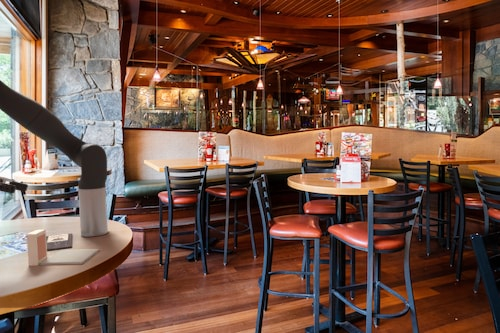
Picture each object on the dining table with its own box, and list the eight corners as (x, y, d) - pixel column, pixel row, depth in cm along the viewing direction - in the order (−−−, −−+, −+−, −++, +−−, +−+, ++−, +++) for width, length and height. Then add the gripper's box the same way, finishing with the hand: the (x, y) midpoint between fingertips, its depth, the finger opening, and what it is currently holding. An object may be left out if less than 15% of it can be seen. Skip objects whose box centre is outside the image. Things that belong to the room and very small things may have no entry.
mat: (61, 251, 115) (61, 249, 115) (99, 250, 115) (99, 249, 115) (39, 264, 103) (39, 262, 103) (82, 264, 103) (81, 262, 103)
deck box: (39, 259, 107) (37, 229, 107) (47, 259, 107) (45, 229, 107) (28, 265, 102) (26, 234, 102) (37, 265, 102) (35, 234, 102)
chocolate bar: (40, 250, 115) (44, 236, 131) (40, 253, 115) (44, 239, 131) (71, 246, 119) (72, 233, 135) (72, 249, 119) (72, 235, 135)
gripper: (-54, 160, 93) (14, 176, 97) (-25, 161, 107) (34, 175, 111) (-63, 189, 93) (6, 204, 96) (-33, 186, 107) (26, 199, 110)
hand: (21, 188), depth 104 cm, fingers open, 8 cm apart
